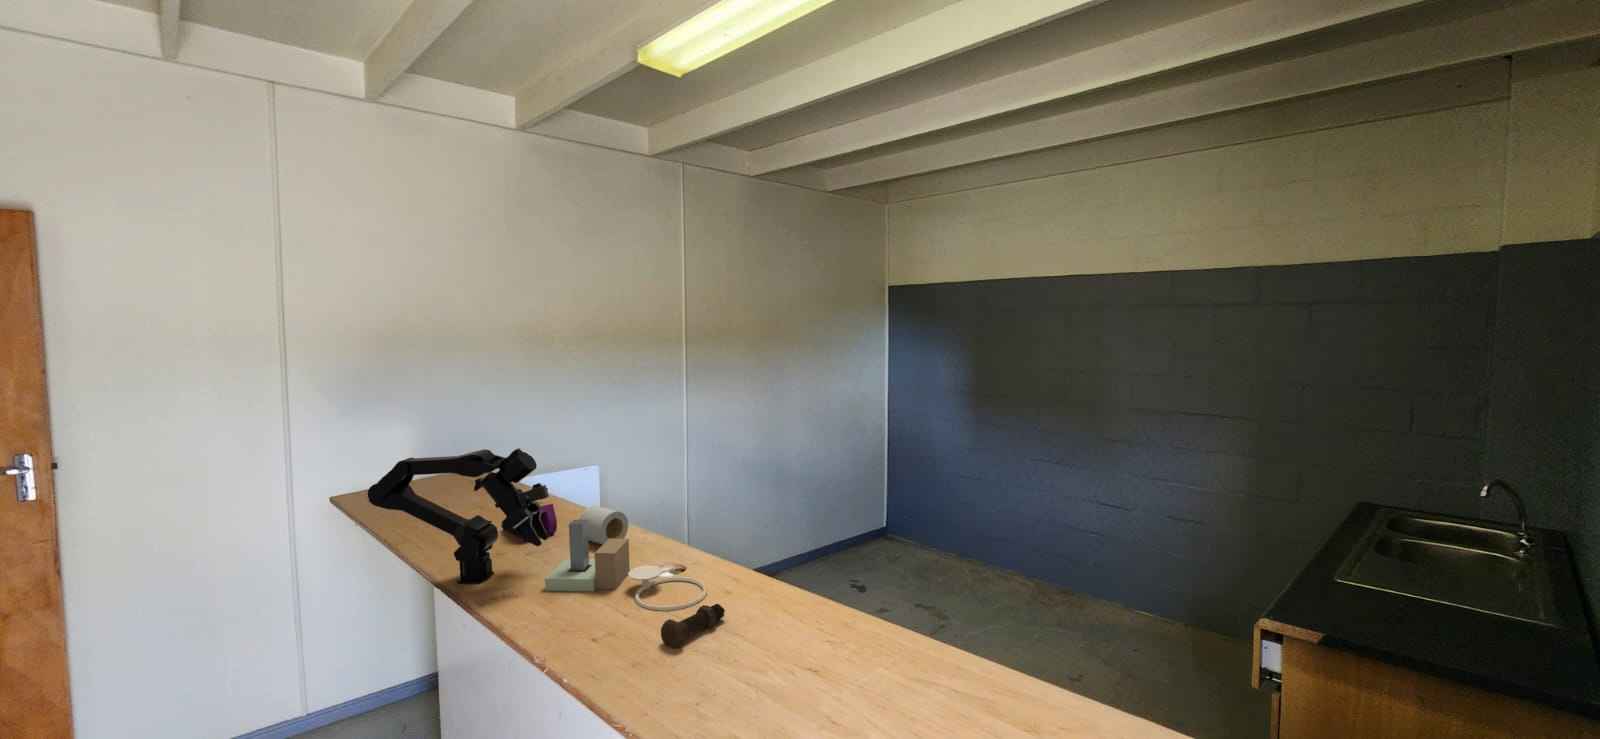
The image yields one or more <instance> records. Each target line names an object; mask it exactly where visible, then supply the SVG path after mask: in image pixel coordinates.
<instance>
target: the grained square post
mask: <svg viewBox="0 0 1600 739" xmlns="http://www.w3.org/2000/svg"><path fill="white" fill-rule="evenodd" d="M568 530H569V531H568V534H569V536H568V538H569V555H570V556H569V558H570V564H571V572H586V571H587V570H588V569H589V558H590V550H589V549H590V546H589V540H588V520H579V519H572V521H570V522H569V524H568Z"/></svg>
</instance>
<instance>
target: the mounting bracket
mask: <svg viewBox="0 0 1600 739" xmlns="http://www.w3.org/2000/svg"><path fill="white" fill-rule="evenodd" d="M541 507H542V508H540V509H539V510H538V511H540V510H541V509H542V512H541V516H540V519H541V522H542V524H543V526H544V529H545V531H546V533H547V535H548V536H550V535H553V533H554V534H555V533H556V532H557V529H558V528H557V527H558V521H557V516H556V512H555V508H554V503H548V504H544V505H541ZM538 511H536V512H538ZM549 534H550V535H549ZM517 538H518V540H519V539H520V540H519V541H521V540H522V541H523V542H527V541H526V540H523V539H521V538H519V537H517ZM522 541H521V542H522Z"/></svg>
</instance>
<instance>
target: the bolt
mask: <svg viewBox="0 0 1600 739" xmlns="http://www.w3.org/2000/svg"><path fill="white" fill-rule="evenodd" d="M725 611H726V610H725V608H724V607H723V606H722V605H720V604H719V603H715V604H712V605H711V606H709V605H706V604H705V605H704V604H703V605H701V606H699V607H698V609H697V610H696V613H695V614H693V615H691V616H687V617H686V618H685V619H682V620H680V621H676V620H673V619H670V618H669V619H667V620H665V621H664V622H663V624H662V625H661V628H660V637H661V641H662V642H663V644H664V645H665V646H666V647H667V646H668V648H670V649H674V650H677V649H678V648H680V647H681V646H682V644H683V642H684V639H685V638H686V637H688V636H690V635H691V634H694V633H695V632H697V631H700V630H702V629H703V630H704V629H705V630H711V629H712V628H714V626H715V624H716V623H717V621H719V620H721V619H722V618H725ZM676 648H677V649H676Z"/></svg>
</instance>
